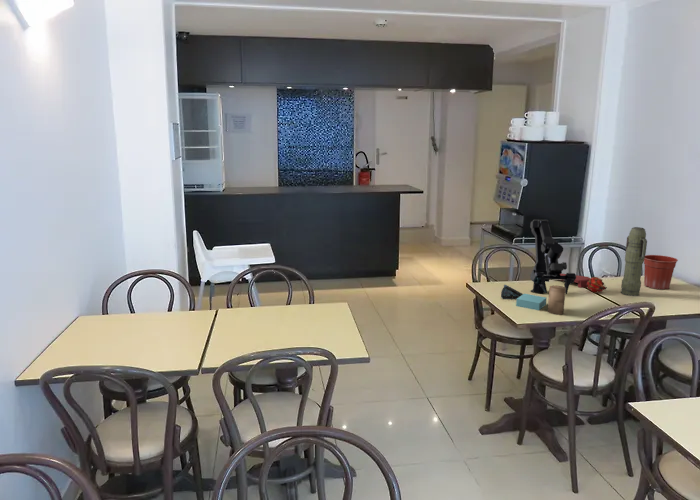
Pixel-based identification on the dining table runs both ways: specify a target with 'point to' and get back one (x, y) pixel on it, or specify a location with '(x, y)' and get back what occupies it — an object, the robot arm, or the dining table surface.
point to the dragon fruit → (596, 285)
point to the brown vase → (556, 299)
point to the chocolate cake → (510, 293)
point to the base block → (531, 301)
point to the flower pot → (658, 271)
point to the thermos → (634, 261)
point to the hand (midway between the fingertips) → (556, 293)
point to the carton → (580, 281)
